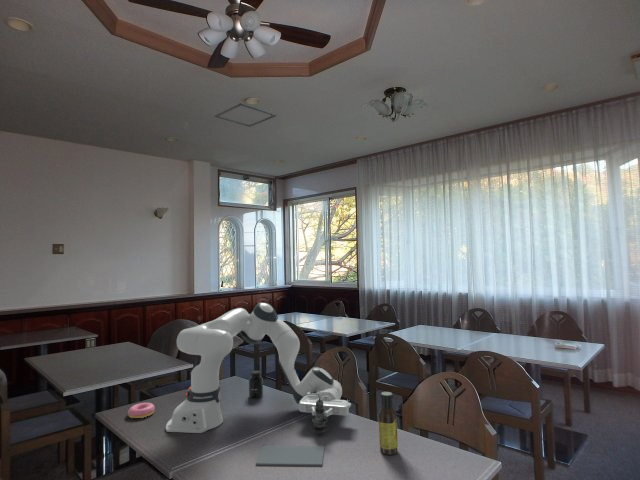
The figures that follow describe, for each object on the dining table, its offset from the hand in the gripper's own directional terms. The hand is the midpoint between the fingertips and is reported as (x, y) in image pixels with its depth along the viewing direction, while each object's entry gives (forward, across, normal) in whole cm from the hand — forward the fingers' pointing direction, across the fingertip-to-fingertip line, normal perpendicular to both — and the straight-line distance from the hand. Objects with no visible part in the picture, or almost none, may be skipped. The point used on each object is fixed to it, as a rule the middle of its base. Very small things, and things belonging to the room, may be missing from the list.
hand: (319, 414), depth 151 cm
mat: (+18, +6, -8) cm, 20 cm away
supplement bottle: (-33, +40, -8) cm, 52 cm away
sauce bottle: (+8, -26, -7) cm, 29 cm away
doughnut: (-4, +82, -9) cm, 82 cm away
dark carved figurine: (0, 0, -6) cm, 6 cm away
